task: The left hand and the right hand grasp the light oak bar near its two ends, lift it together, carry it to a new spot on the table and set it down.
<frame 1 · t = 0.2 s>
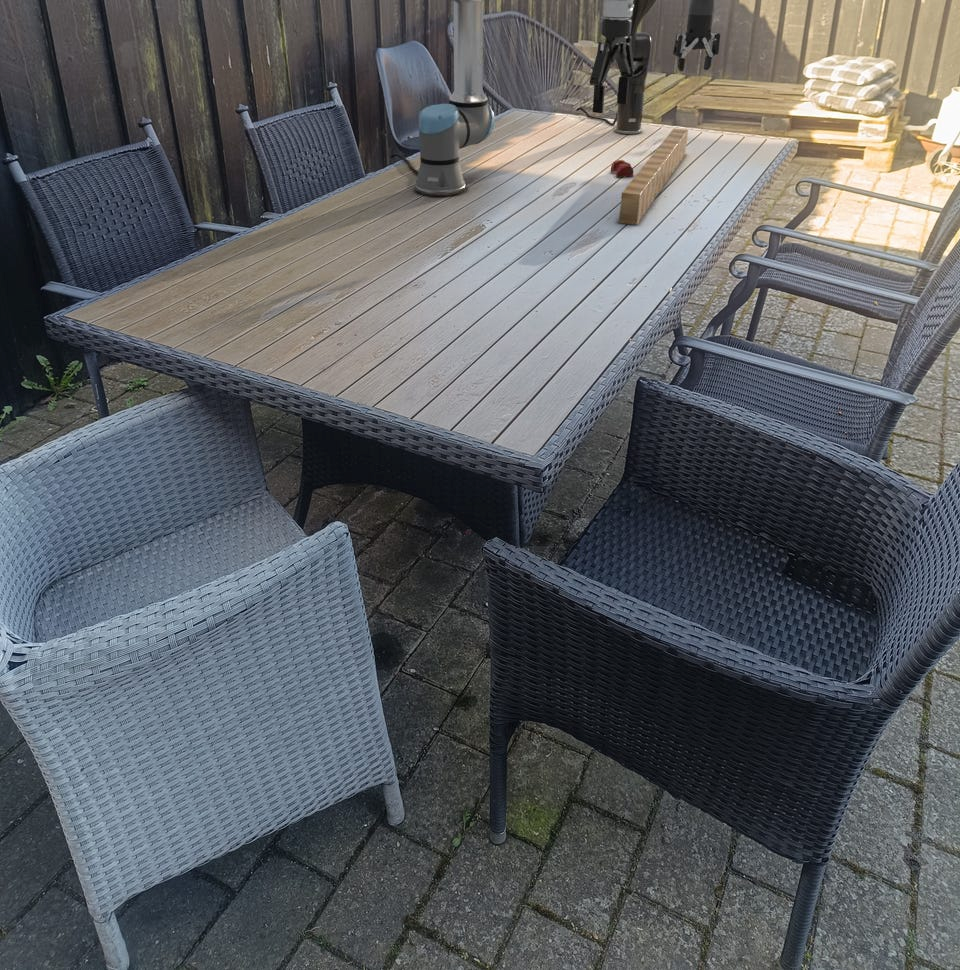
left hand: (610, 108, 226), 28 cm above the table, tool pointing down, fingers open, 13 cm apart
right hand: (693, 70, 267), 28 cm above the table, tool pointing down, fingers open, 8 cm apart
dark red rounded lump: (621, 174, 272), on the table
bar: (655, 185, 262), on the table
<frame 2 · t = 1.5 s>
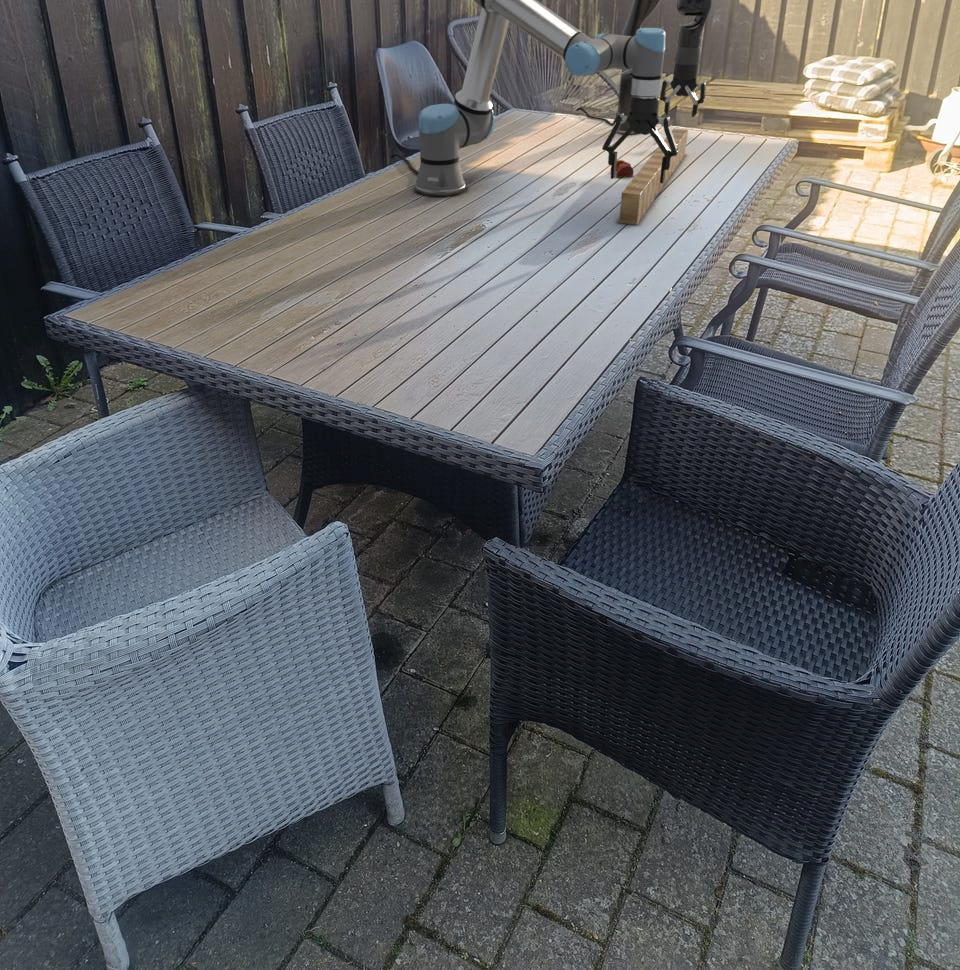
left hand: (637, 179, 231), 10 cm above the table, tool pointing down, fingers open, 13 cm apart
right hand: (680, 115, 279), 14 cm above the table, tool pointing down, fingers open, 8 cm apart
nothing on the table moved.
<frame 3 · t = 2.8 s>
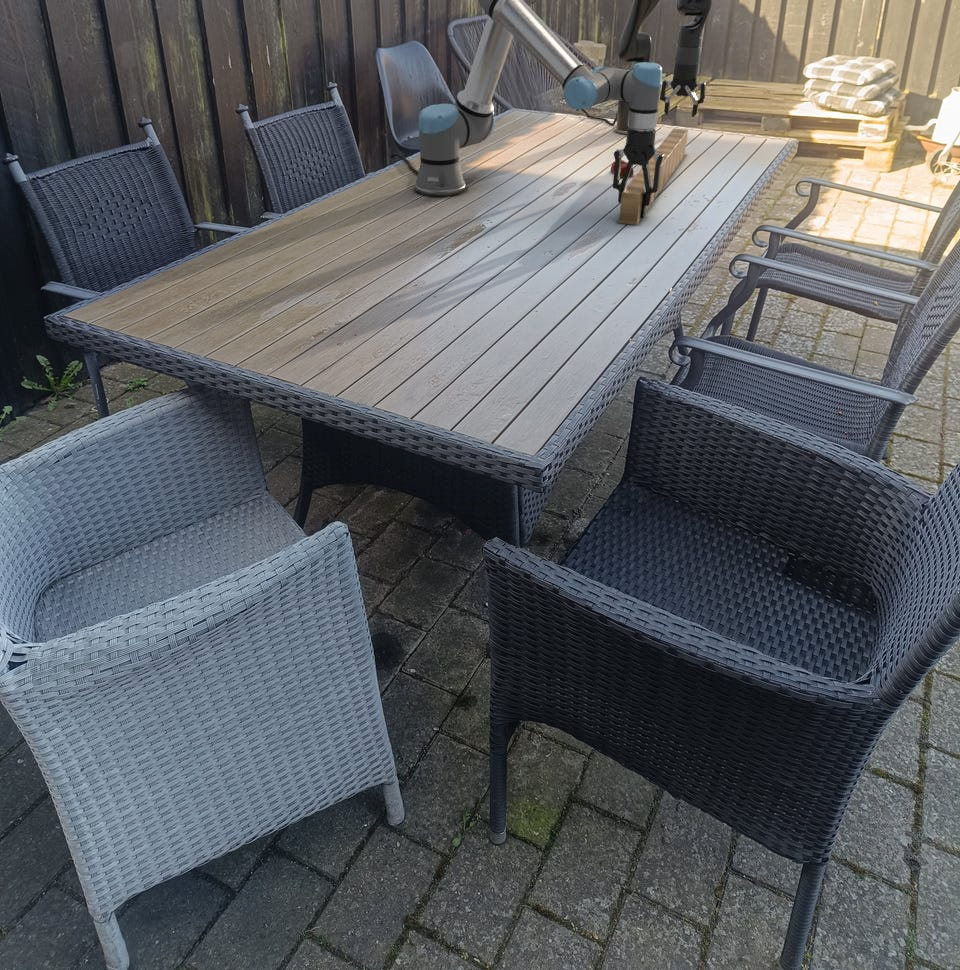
left hand: (632, 215, 237), 1 cm above the table, tool pointing down, fingers closed on bar, 5 cm apart
right hand: (680, 115, 279), 14 cm above the table, tool pointing down, fingers open, 8 cm apart
bar: (655, 185, 262), on the table, touching left hand
everything else where it was.
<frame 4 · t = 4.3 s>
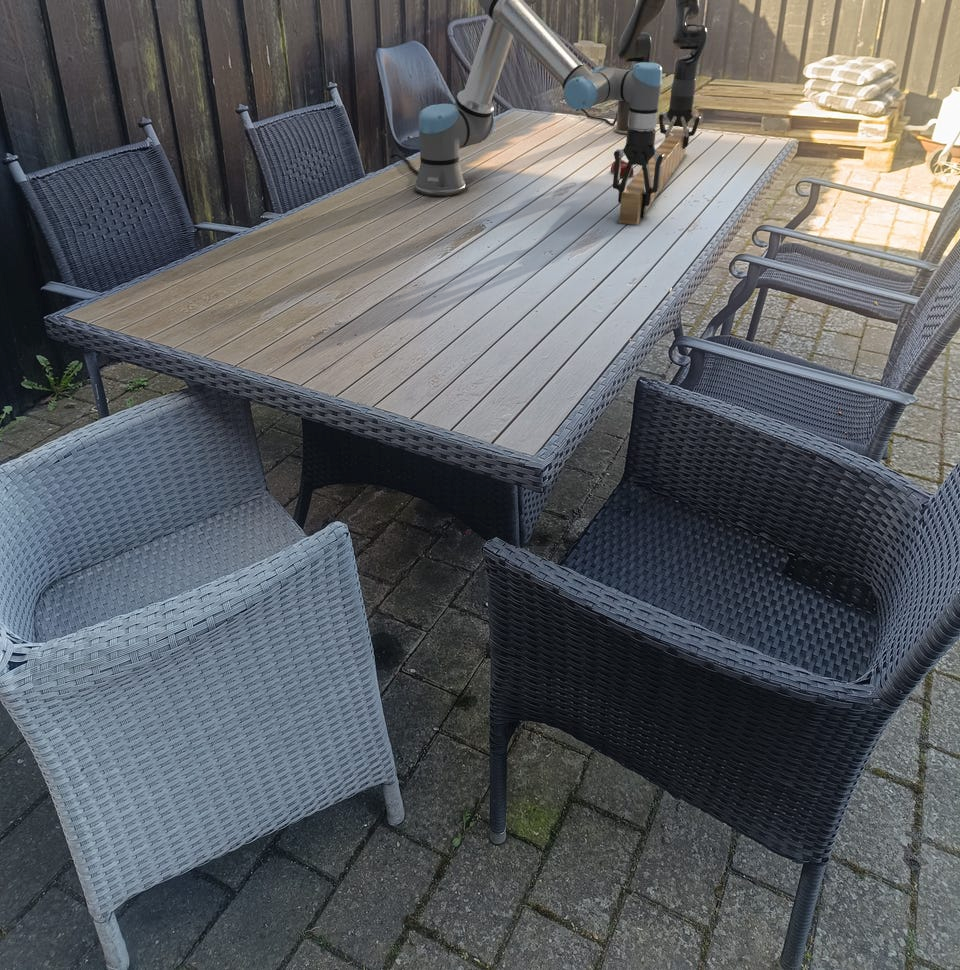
left hand: (632, 215, 237), 1 cm above the table, tool pointing down, fingers closed on bar, 5 cm apart
right hand: (675, 147, 285), 4 cm above the table, tool pointing down, fingers closed on bar, 5 cm apart
bar: (655, 185, 262), on the table, touching left hand, right hand
everything else where it was.
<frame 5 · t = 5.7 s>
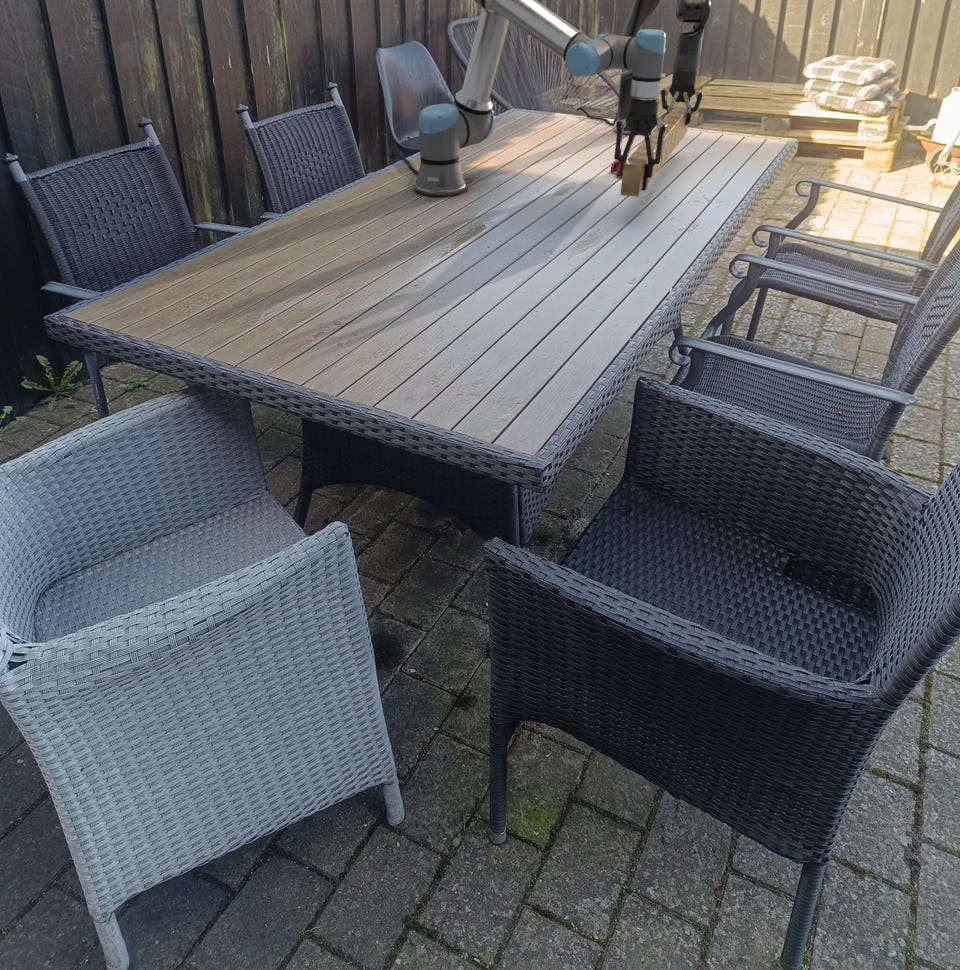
left hand: (634, 187, 233), 8 cm above the table, tool pointing down, fingers closed on bar, 5 cm apart
right hand: (678, 123, 281), 11 cm above the table, tool pointing down, fingers closed on bar, 5 cm apart
bar: (657, 160, 258), point 8 cm above the table, touching left hand, right hand
everything else where it was.
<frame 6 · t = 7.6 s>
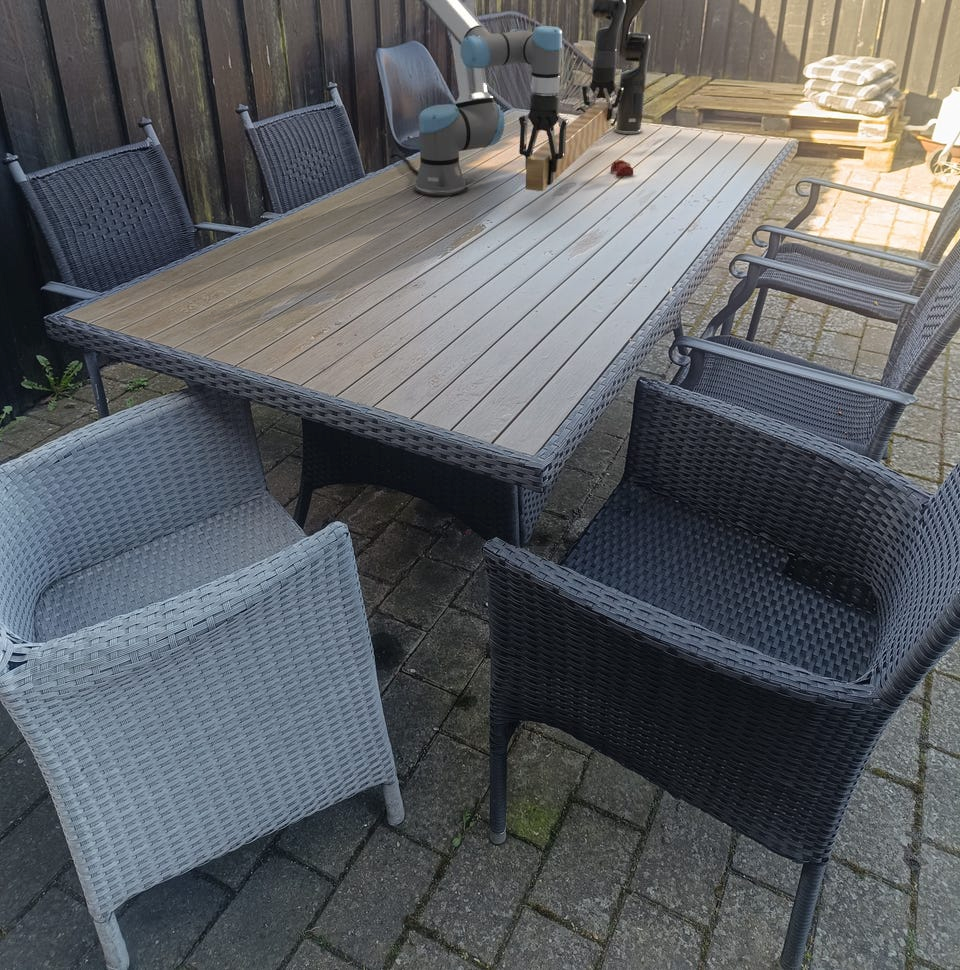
left hand: (540, 182, 237), 8 cm above the table, tool pointing down, fingers closed on bar, 5 cm apart
right hand: (600, 119, 285), 11 cm above the table, tool pointing down, fingers closed on bar, 5 cm apart
bar: (572, 155, 262), point 8 cm above the table, touching left hand, right hand
everything else where it was.
when the left hand's fingers open (2 cm above the table, at t = 8.8 s): bar stays where it is, on the table.
when the right hand's fingers open (5 cm above the table, at t = 9.0 s): bar stays where it is, on the table.
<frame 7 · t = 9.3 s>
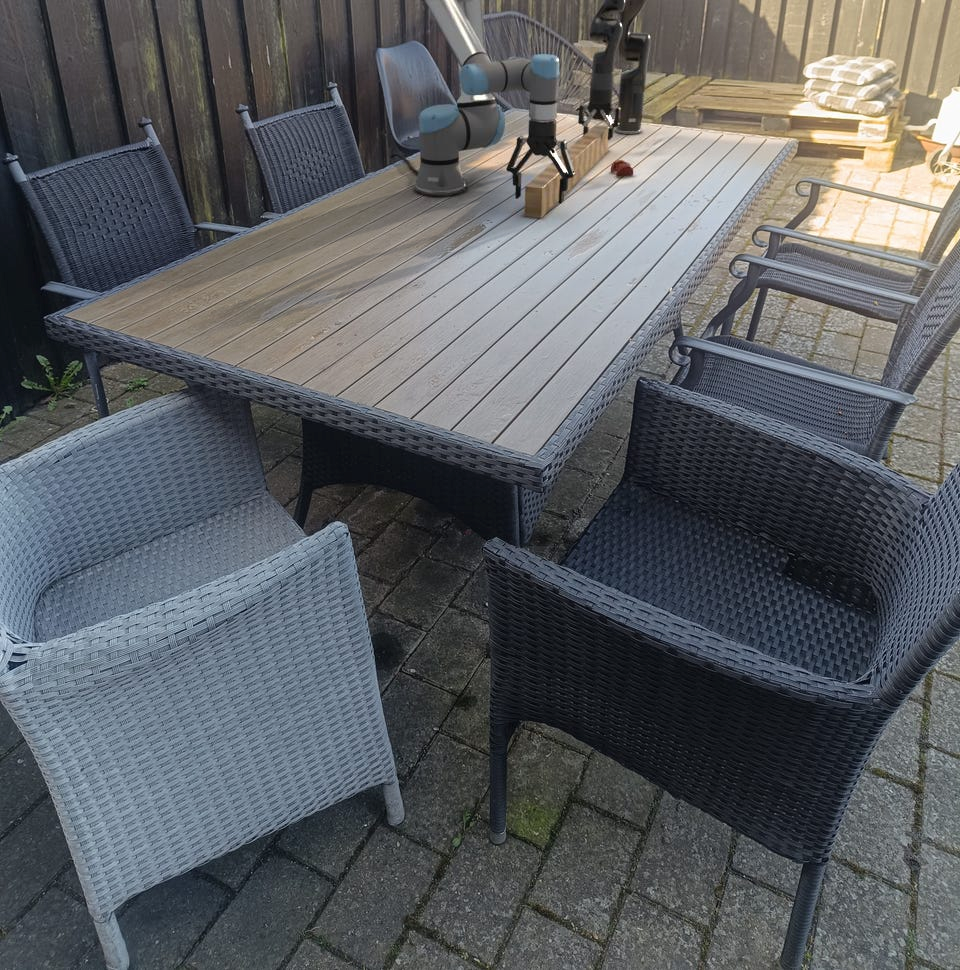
left hand: (539, 199, 240), 3 cm above the table, tool pointing down, fingers open, 12 cm apart
right hand: (597, 138, 289), 5 cm above the table, tool pointing down, fingers open, 7 cm apart
bar: (570, 180, 267), on the table
everything else where it was.
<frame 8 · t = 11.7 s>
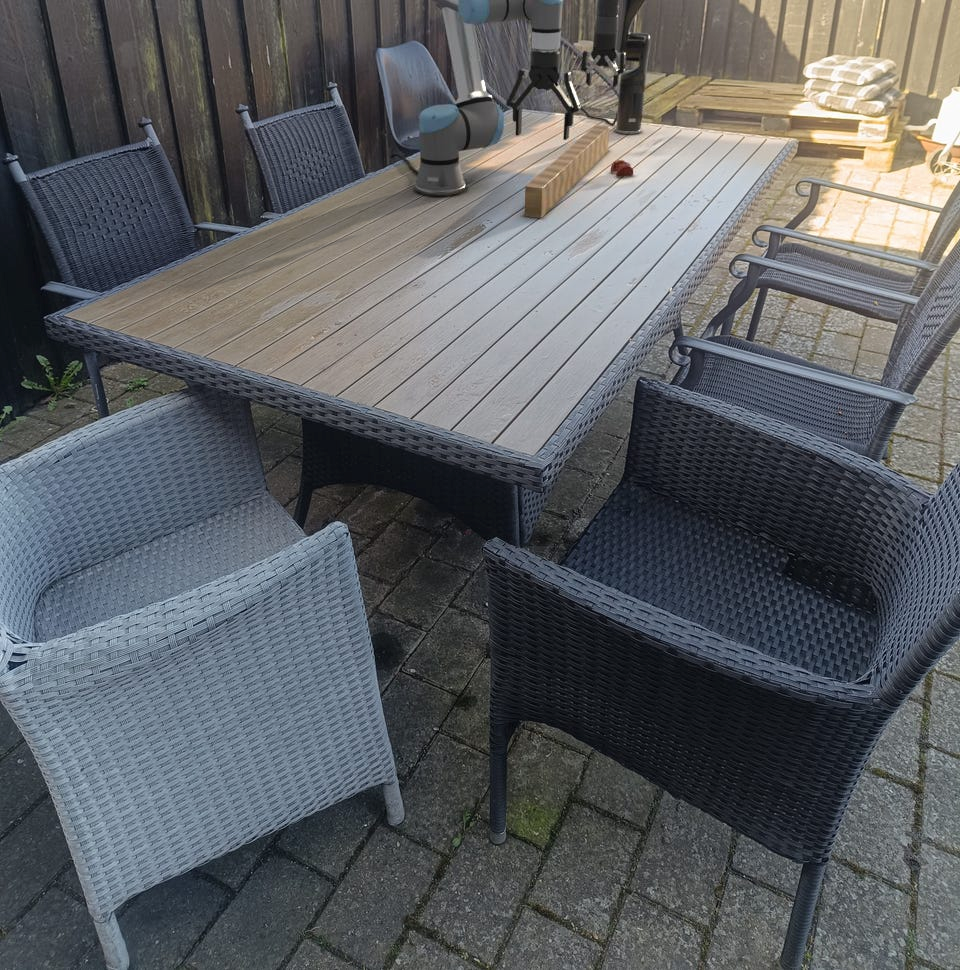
left hand: (542, 136, 230), 20 cm above the table, tool pointing down, fingers open, 13 cm apart
right hand: (601, 86, 279), 22 cm above the table, tool pointing down, fingers open, 8 cm apart
nothing on the table moved.
at the end: bar inside the target area (0.4 cm from its centre), on the table; bar tilted 0°; bar never tilted more than 1° during the clip; both hands held the bar at the same time; the left hand is holding nothing; the right hand is holding nothing; bar at rest at the end (0.0 cm/s) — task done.
